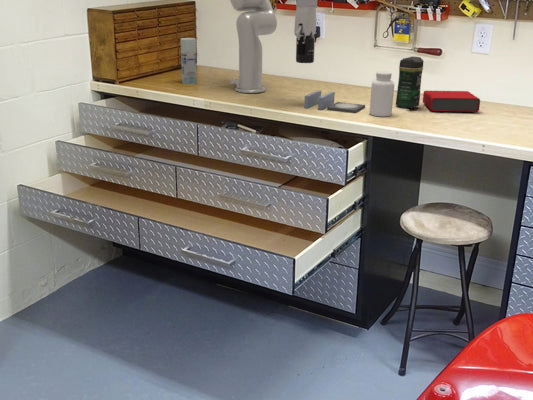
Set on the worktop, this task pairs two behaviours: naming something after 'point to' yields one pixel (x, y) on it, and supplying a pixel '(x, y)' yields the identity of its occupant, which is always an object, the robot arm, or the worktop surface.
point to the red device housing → (451, 101)
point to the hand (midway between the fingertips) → (305, 53)
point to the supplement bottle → (307, 50)
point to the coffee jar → (409, 82)
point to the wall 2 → (326, 100)
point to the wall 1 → (312, 99)
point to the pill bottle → (382, 95)
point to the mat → (346, 107)
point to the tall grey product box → (188, 60)
